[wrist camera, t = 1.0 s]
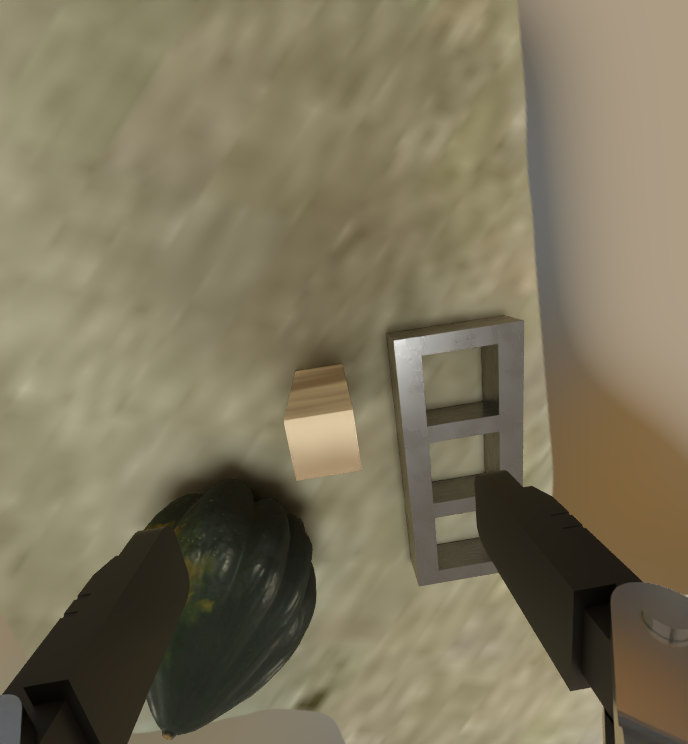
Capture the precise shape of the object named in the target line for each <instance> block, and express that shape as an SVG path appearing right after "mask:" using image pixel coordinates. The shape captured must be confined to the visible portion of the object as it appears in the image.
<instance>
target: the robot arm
mask: <svg viewBox="0 0 688 744" xmlns="http://www.w3.org/2000/svg"><path fill="white" fill-rule="evenodd" d="M474 484H475V502H476V520H477V529H478V533H479V536H480V540H481V542H482V545H483V547H484V549H485V551H486V552H487V554H488V556H489V557H490V559H491V561H492V562H493V564H494V566H495V567H496V569H497V571H498V572H499V574H500V575H501V577H502V579H503V580H504V582H505V584H506V585H507V587H508V589H509V590H510V592H511V594H512V595H513V597H514V599H515V600H516V602H517V604H518V605H519V607H520V609H521V610H522V612H523V614H524V615H525V617H526V619H527V620H528V622H529V624H530V625H531V627H532V628H533V630H534V632H535V633H536V635H537V637H538V638H539V640H540V642H541V643H542V645H543V647H544V648H545V650H546V652H547V653H548V655H549V657H550V658H551V660H552V662H553V663H554V665H555V667H556V668H557V670H558V672H559V673H560V675H561V676H562V678H563V680H564V681H565V683H566V685H567V686H568V688H569V690H570V691H574V690H580V689H585V688H590V687H591V688H592V689H593V691H594V693H595V694H596V696H597V697H598V699H599V700H600V702H601V703H602V705H603V713H602V721H603V744H688V597H686V596H684V595H682V594H680V593H678V592H676V591H673V590H671V589H669V588H666V587H662V586H660V585H655V584H651V583H644V582H642V581H641V580H640V579H639V578H638V577H637V576H636V575H635V574H634V573H633V572H632V571H631V570H630V569H629V568H627V566H625V565H624V564H623V563H622V562H621V561H620V560H619V559H618V558H617V557H616V556H615V555H614V554H613V553H611V552H610V551H609V550H608V549H607V548H606V547H605V546H604V545H603V544H602V543H601V542H600V541H599V540H598V539H597V538H596V537H595V536H594V535H593V534H592V533H590V532H589V531H588V530H587V529H586V528H583V526H582V524H581V523H580V522H579V521H578V520H577V519H576V518H575V517H574V516H572V515H569V512H568V511H567V510H566V509H565V508H564V507H563V506H562V505H561V504H560V503H558V501H557V500H556V499H554V498H553V497H552V496H550V495H548V494H546V493H544V492H542V491H541V490H539V489H537V488H535V487H533V486H529V487H523V486H522V485H521V484H520V483H519V482H518V481H517V480H516V479H515V478H514V477H513V476H512V475H511V474H510V473H509V472H508V471H506V470H500V471H495V472H489V473H483V474H477V475H476V476H475V480H474ZM189 585H190V582H189V573H188V570H187V567H186V564H185V561H184V558H183V555H182V552H181V549H180V546H179V543H178V540H177V537H176V534H175V531H174V530H173V528H172V527H170V526H166V527H160V528H154V529H148V530H142V531H138V532H136V533H135V534H134V535H133V537H132V538H131V539H130V541H129V542H128V543H127V545H126V546H125V548H124V549H123V550H122V552H121V553H120V554H119V556H115V557H114V558H113V559H111V560H110V561H109V562H108V563H107V564H106V565H105V566H103V567H102V568H101V569H100V570H99V571H98V572H96V573H95V574H94V575H93V576H92V578H91V579H90V580H89V582H88V583H87V584H86V585H85V587H84V588H83V589H82V591H81V592H80V593H79V595H78V599H77V600H74V601H73V603H72V604H71V605H70V606H69V608H68V609H67V610H66V612H65V613H64V617H63V618H60V620H59V621H58V622H57V623H56V625H55V626H54V627H53V629H52V630H51V631H50V633H49V634H48V635H47V637H46V638H45V639H44V640H43V642H42V643H41V644H40V646H39V647H38V648H37V650H36V651H35V652H34V654H33V655H32V656H31V657H30V659H29V660H28V661H27V663H26V664H25V665H24V667H23V668H22V669H21V671H20V672H19V673H18V674H17V676H16V677H15V678H14V680H13V681H12V682H11V684H10V685H9V686H8V688H7V689H6V690H5V692H4V693H3V694H2V695H0V744H127V743H128V741H129V739H130V736H131V734H132V731H133V729H134V726H135V724H136V722H137V719H138V717H139V714H140V712H141V710H142V707H143V705H144V702H145V700H146V698H147V695H148V693H149V690H150V688H151V686H152V683H153V681H154V678H155V676H156V673H157V671H158V669H159V666H160V664H161V661H162V659H163V657H164V654H165V652H166V649H167V647H168V645H169V642H170V640H171V637H172V635H173V633H174V630H175V628H176V625H177V623H178V620H179V618H180V616H181V613H182V611H183V608H184V606H185V604H186V601H187V598H188V594H189Z"/></svg>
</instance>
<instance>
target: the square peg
mask: <svg viewBox="0 0 688 744" xmlns="http://www.w3.org/2000/svg"><path fill="white" fill-rule="evenodd" d="M284 425H285V430H286V434H287V439H288V444H289V449H290V453H291V458H292V463H293V467H294V472H295V477H296V481H297V480H304V479H310V478H316V477H322V476H328V475H334V474H340V473H346V472H353V471H359V470H362V469H361V462H360V455H359V448H358V442H357V435H356V428H355V421H354V414H353V408H352V404H351V400H350V395H349V391H348V387H347V382H346V378H345V373H344V369H343V365H342V364H338V365H332V366H325V367H319V368H312V369H306V370H300V371H295V375H294V379H293V384H292V388H291V392H290V396H289V400H288V404H287V409H286V413H285V417H284Z"/></svg>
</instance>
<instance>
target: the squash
mask: <svg viewBox="0 0 688 744" xmlns="http://www.w3.org/2000/svg"><path fill="white" fill-rule="evenodd" d="M166 526H170V527H172V528H173V530H174V531H175V534H176V537H177V540H178V543H179V546H180V549H181V552H182V555H183V558H184V561H185V564H186V567H187V570H188V573H189V582H190V585H189V594H188V598H187V601H186V604H185V606H184V608H183V611H182V613H181V616H180V618H179V620H178V623H177V625H176V628H175V630H174V633H173V635H172V637H171V640H170V642H169V645H168V647H167V649H166V652H165V654H164V657H163V659H162V661H161V664H160V666H159V669H158V671H157V673H156V676H155V678H154V681H153V683H152V686H151V688H150V690H149V693H148V695H147V698H146V699H147V702H148V705H149V708H150V711H151V713H152V715H153V717H154V719H155V721H156V723H157V725H158V726H159V727H160V729H161V730H162V736H163V737H164V738H165V739H167V740H172V739H173V738H174V737H175V736H176V735H181V734H185V733H189V732H192V731H195V730H197V729H199V728H201V727H203V726H205V725H207V724H208V723H210V722H211V721H213V720H214V719H216V718H218V717H219V716H221V715H222V714H224V713H226V712H227V711H229V710H230V709H232V708H233V707H235V706H236V705H238V704H239V703H241V702H242V701H244V700H246V699H247V698H249V697H251V696H252V695H253V694H255V693H256V692H257V691H258V690H259V689H261V688H262V687H263V686H264V685H265V684H266V683H267V682H268V681H269V680H270V679H271V678H272V677H273V676H274V675H275V674H276V673H277V672H278V671H279V670H280V669H281V668H282V667H283V666H284V664H285V663H286V662H287V661H288V660H289V658H290V657H291V656H292V654H293V653H294V652H295V650H296V648H297V647H298V645H299V644H300V642H301V640H302V638H303V636H304V634H305V632H306V630H307V628H308V626H309V624H310V621H311V619H312V616H313V613H314V609H315V604H316V578H315V573H314V568H313V565H312V562H311V559H312V544H311V542H310V539H309V537H308V535H307V534H306V532H305V529H304V525H303V522H302V521H301V519H299V518H297V517H296V516H294V515H292V514H287V513H285V511H284V508H283V506H282V505H281V504H280V503H279V502H278V501H276V500H274V499H268V498H267V499H262V500H259V501H257V502H254V496H253V494H252V492H251V491H250V489H249V488H248V487H247V486H246V485H245V484H244V483H243V482H241V481H237V480H234V479H227V480H223V481H221V482H219V483H217V484H216V485H214V486H213V487H212V488H210V489H209V490H208V491H207V492H205V493H204V494H188V495H185V496H182V497H180V498H178V499H176V500H175V501H173V502H171V503H170V504H169V505H168V506H167V507H165V508H164V509H163V510H162V511H161V512H159V513H158V514H157V515H156V516H155V517H154V518H153V519H152V521H151V522H150V523H149V524H148V525H147V527H146V528H145V529H144V530H148V529H154V528H160V527H166Z"/></svg>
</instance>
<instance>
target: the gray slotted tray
mask: <svg viewBox="0 0 688 744" xmlns="http://www.w3.org/2000/svg"><path fill="white" fill-rule="evenodd" d="M386 335H387V344H388V353H389V362H390V371H391V381H392V390H393V399H394V408H395V417H396V426H397V435H398V445H399V454H400V463H401V472H402V481H403V490H404V499H405V509H406V518H407V527H408V536H409V545H410V554H411V562H412V565H413V568H414V571H415V575H416V578H417V581H418V584H419V586H424V585H430V584H435V583H441V582H447V581H453V580H459V579H465V578H471V577H476V576H482V575H488V574H494V573H499V572H498V571H497V569H496V567H495V566H494V564H493V562H492V561H491V559H490V557H489V556H488V554H487V552H486V551H485V549H484V547H483V545H482V542H481V540H480V538H474V539H468V540H462V541H457V542H451V543H445V544H439V545H437V542H436V530H435V518H436V517H442V516H448V515H454V514H460V513H466V512H472V511H476V502H475V484H474V480H475V476H476V475H472V476H466V477H460V478H454V479H448V480H442V481H436V482H432V481H431V468H430V456H429V444H428V443H431V442H438V441H444V440H450V439H456V438H462V437H468V436H475V435H481V434H484V457H485V473H489V472H495V471H500V470H506V471H508V472H509V473H510V474H511V475H512V476H513V477H514V478H515V479H516V480H517V481H518V482H519V483H520V484H521V485H522V486H523V377H524V320H520V319H516V318H512V317H509V316H505V315H503V316H496V317H490V318H484V319H477V320H471V321H464V322H458V323H451V324H445V325H438V326H432V327H426V328H419V329H413V330H406V331H400V332H393V333H387V334H386ZM475 347H481V351H482V386H483V402H477V403H471V404H465V405H458V406H452V407H446V408H440V409H433V410H427V411H426V406H425V394H424V382H423V369H422V357H421V356H424V355H430V354H436V353H443V352H449V351H456V350H462V349H468V348H475Z"/></svg>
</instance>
